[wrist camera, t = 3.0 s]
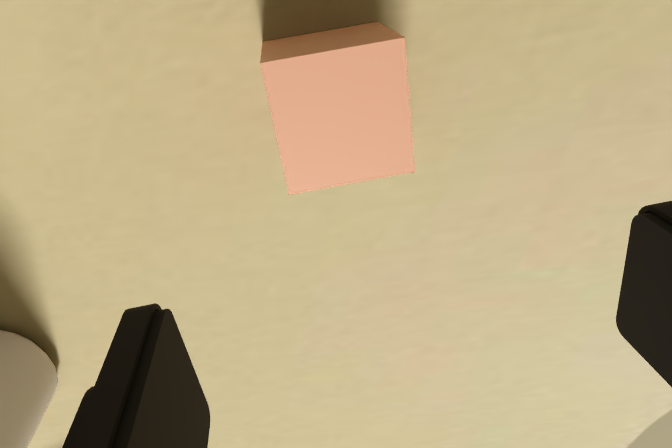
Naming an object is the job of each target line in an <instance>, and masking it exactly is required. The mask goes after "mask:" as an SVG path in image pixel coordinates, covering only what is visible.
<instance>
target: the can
mask: <svg viewBox="0 0 672 448" xmlns="http://www.w3.org/2000/svg"><path fill="white" fill-rule="evenodd" d="M57 382H58V377H57V373H56V368H55V366H54V364H53V363H52V361H51V360H50V358H49V357H48V356H47V354H46V353H45V352H44V351H42V349H41V348H40V347H38V346H37V345H36V344H34V343H33V342H32V341H31V340H29V339H27V338H25V337H23V336H20V335H18V334H16V333H12V332H8V331H3V330H0V448H27V447H28V445H29V443H30V441H31V439H32V437H33V435H34V433H35V431H36V429H37V427H38V425H39V423H40V421H41V419H42V417H43V415H44V413H45V411H46V409H47V407H48V405H49V403H50V401H51V399H52V397H53V395H54V393H55V390H56V386H57Z"/></svg>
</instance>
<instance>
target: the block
mask: <svg viewBox="0 0 672 448" xmlns="http://www.w3.org/2000/svg"><path fill="white" fill-rule="evenodd" d="M260 64H261V69H262V73H263V78H264V83H265V87H266V92H267V97H268V101H269V106H270V110H271V115H272V120H273V124H274V129H275V133H276V138H277V143H278V147H279V152H280V156H281V161H282V166H283V170H284V175H285V179H286V184H287V189H288V193H289V195H291V194H296V193H302V192H307V191H312V190H318V189H323V188H328V187H334V186H339V185H345V184H350V183H355V182H361V181H366V180H372V179H377V178H382V177H388V176H393V175H399V174H404V173H409V172H415V165H414V152H413V139H412V126H411V113H410V100H409V87H408V74H407V61H406V48H405V37H403V36H401V35H400V34H398V33H396V32H394V31H393V30H391V29H389V28H388V27H386V26H384V25H382V24H381V23H379V22H373V23H367V24H361V25H356V26H350V27H344V28H338V29H333V30H327V31H321V32H316V33H310V34H304V35H299V36H293V37H287V38H282V39H276V40H270V41H265V42H262V51H261V61H260Z"/></svg>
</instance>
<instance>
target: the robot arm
mask: <svg viewBox="0 0 672 448" xmlns="http://www.w3.org/2000/svg"><path fill="white" fill-rule="evenodd" d="M616 323H617V327H618V330H619V332H620V333H621V335H622V336H623V337H624V338H625V339H626V340H627V341H628V342H629V343H630V344H631V345H632V347H633V348H634V349H635V350H636V351H637V352H638V353H639V354H640V355H641V356H642V357H643V358H644V359H645V360H646V361H647V362H648V363H649V364H650V365H651V366H652V367H653V368H654V369H655V370H656V371H657V372H658V373H659V374H660V375H661V377H662V378H663V379H664V380H665V381H666V382H667V383H668V384H669V385H670V386H671V387H672V201H668V202H663V203H658V204H653V205H648V206H645V207H643V208H641V210H640V211H639V213H638V215H636V216H635V217H634V218H633V220H632V223H631V230H630V236H629V242H628V248H627V254H626V260H625V267H624V273H623V279H622V285H621V291H620V297H619V303H618V310H617V316H616ZM209 428H210V412H209V407H208V403H207V401H206V398H205V396H204V393H203V391H202V388H201V385H200V383H199V380H198V378H197V375H196V373H195V370H194V368H193V365H192V363H191V360H190V357H189V355H188V352H187V350H186V347H185V345H184V342H183V340H182V337H181V334H180V332H179V329H178V327H177V324H176V322H175V319H174V317H173V314H172V312H171V311H170V310H169V309H164V310H162V309H161V307H160V306H159V305H158V304H151V305H146V306H141V307H136V308H131V309H127V310H125V312H124V313H123V315H122V318H121V321H120V323H119V326H118V328H117V331H116V333H115V336H114V338H113V341H112V343H111V346H110V348H109V351H108V353H107V356H106V358H105V361H104V364H103V366H102V369H101V371H100V374H99V376H98V379H97V381H96V384H95V386H94V387H91V388H90V389H89V390H87V392H86V393H85V395H84V397H83V399H82V401H81V404H80V406H79V408H78V411H77V413H76V416H75V418H74V421H73V423H72V425H71V428H70V430H69V433H68V435H67V438H66V440H65V442H64V445H63V447H62V448H207V446H208V437H209Z"/></svg>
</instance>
